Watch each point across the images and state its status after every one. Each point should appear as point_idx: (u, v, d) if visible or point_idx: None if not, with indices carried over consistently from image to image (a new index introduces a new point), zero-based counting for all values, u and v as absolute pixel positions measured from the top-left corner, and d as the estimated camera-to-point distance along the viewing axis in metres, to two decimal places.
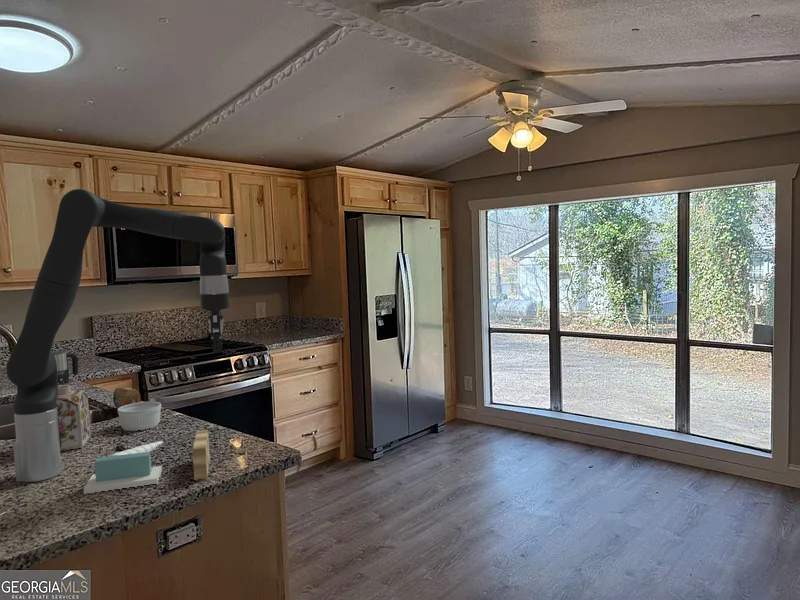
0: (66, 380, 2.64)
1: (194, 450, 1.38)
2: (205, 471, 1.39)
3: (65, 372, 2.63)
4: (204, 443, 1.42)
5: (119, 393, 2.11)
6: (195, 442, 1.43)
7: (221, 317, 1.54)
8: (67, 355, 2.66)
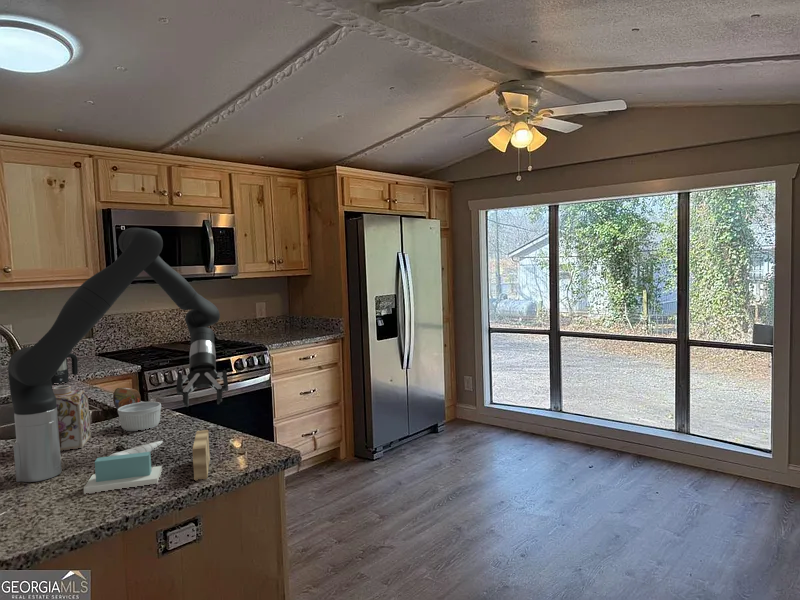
0: (65, 380, 2.64)
1: (194, 450, 1.38)
2: (205, 471, 1.39)
3: (64, 372, 2.63)
4: (204, 443, 1.42)
5: (119, 393, 2.11)
6: (195, 442, 1.43)
7: None
8: None
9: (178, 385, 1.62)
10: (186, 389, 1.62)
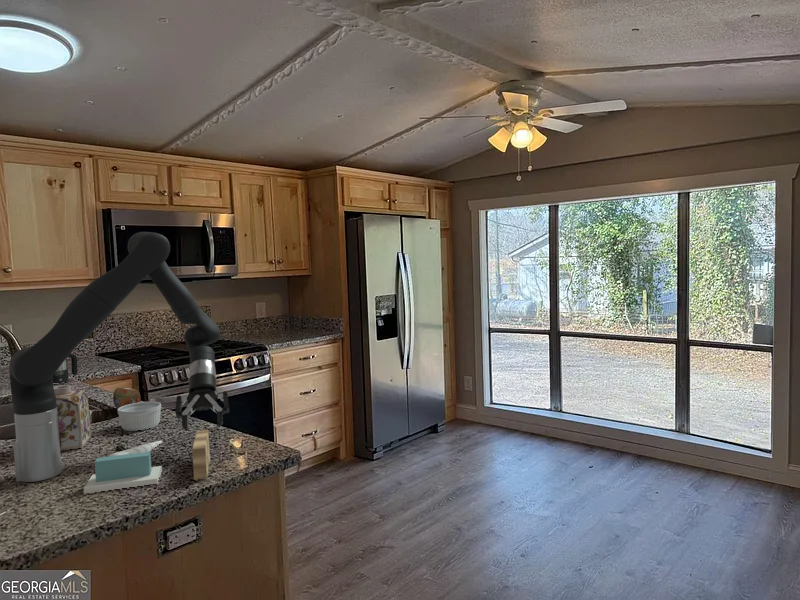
0: (65, 380, 2.64)
1: (194, 450, 1.38)
2: (205, 471, 1.39)
3: (64, 372, 2.63)
4: (204, 443, 1.42)
5: (119, 393, 2.11)
6: (195, 442, 1.43)
7: None
8: None
9: (177, 408, 1.56)
10: (185, 412, 1.56)
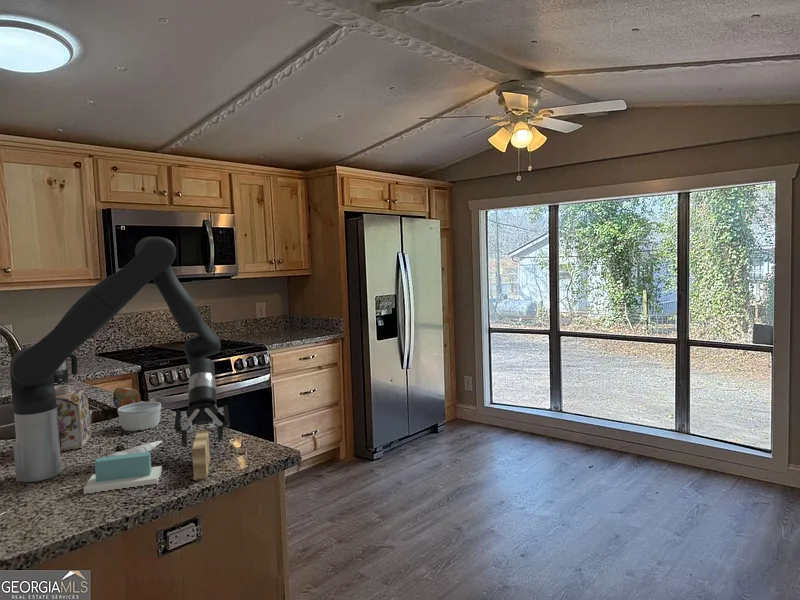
0: (65, 380, 2.64)
1: (194, 450, 1.38)
2: (205, 471, 1.39)
3: (64, 372, 2.64)
4: (204, 443, 1.42)
5: (119, 393, 2.11)
6: (195, 442, 1.43)
7: None
8: None
9: (177, 422, 1.53)
10: (185, 427, 1.52)
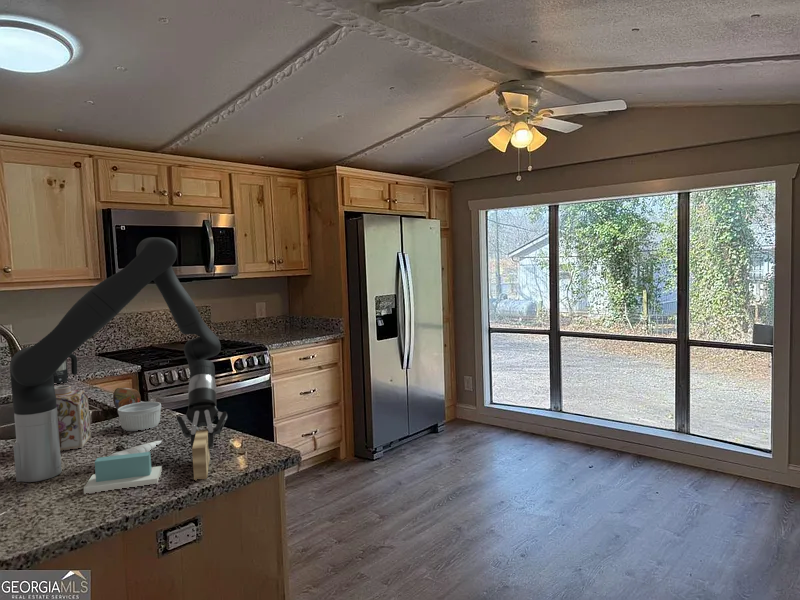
0: (65, 380, 2.64)
1: (194, 449, 1.38)
2: (205, 470, 1.39)
3: (64, 372, 2.64)
4: (204, 442, 1.42)
5: (119, 393, 2.11)
6: (195, 441, 1.43)
7: None
8: None
9: (184, 427, 1.52)
10: (194, 431, 1.52)
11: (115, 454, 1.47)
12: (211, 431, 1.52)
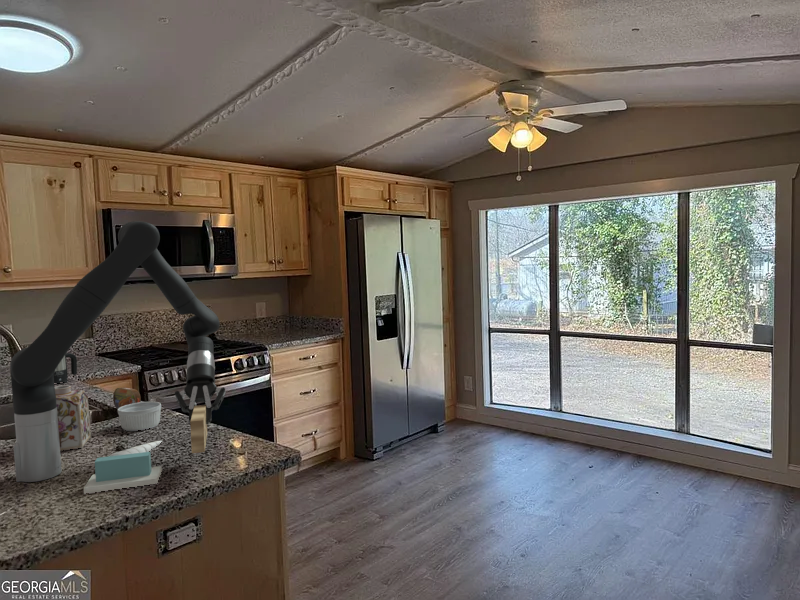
0: (65, 380, 2.64)
1: (192, 422, 1.38)
2: (203, 443, 1.39)
3: (64, 372, 2.64)
4: (202, 416, 1.42)
5: (119, 393, 2.11)
6: (193, 415, 1.43)
7: None
8: (66, 355, 2.66)
9: (182, 402, 1.51)
10: (192, 406, 1.51)
11: (115, 454, 1.47)
12: (209, 406, 1.52)
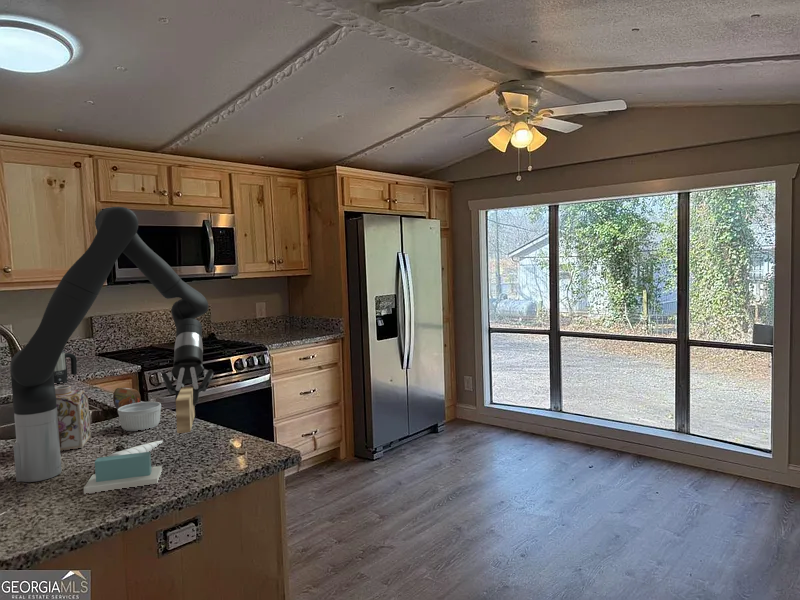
0: (64, 380, 2.64)
1: (177, 402, 1.36)
2: (188, 424, 1.37)
3: (63, 372, 2.64)
4: (188, 396, 1.40)
5: (119, 393, 2.11)
6: (179, 395, 1.41)
7: None
8: (66, 355, 2.66)
9: (169, 383, 1.50)
10: (178, 387, 1.49)
11: (115, 454, 1.47)
12: (196, 388, 1.50)
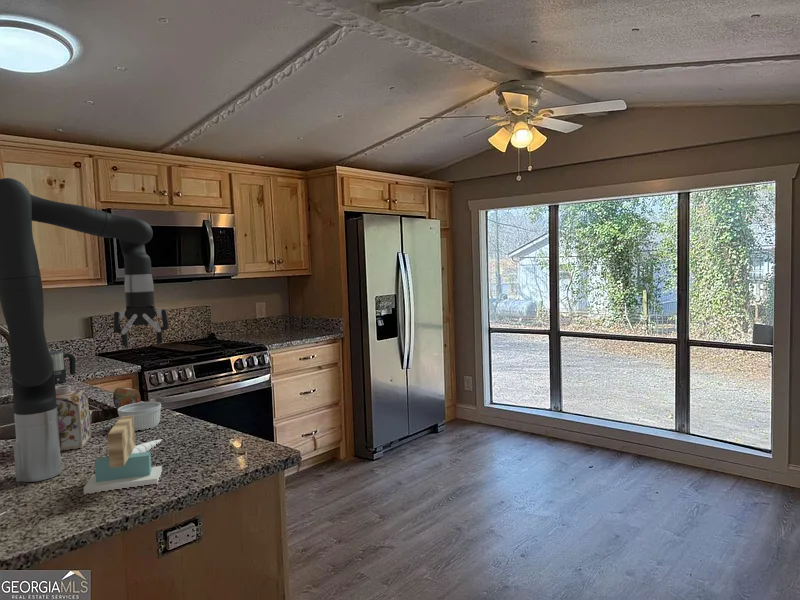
0: (63, 380, 2.64)
1: (109, 435, 1.30)
2: (122, 457, 1.31)
3: (62, 372, 2.64)
4: (122, 428, 1.34)
5: (119, 393, 2.11)
6: (114, 427, 1.35)
7: None
8: (64, 355, 2.66)
9: (116, 326, 1.60)
10: (124, 331, 1.60)
11: None
12: (160, 330, 1.63)
